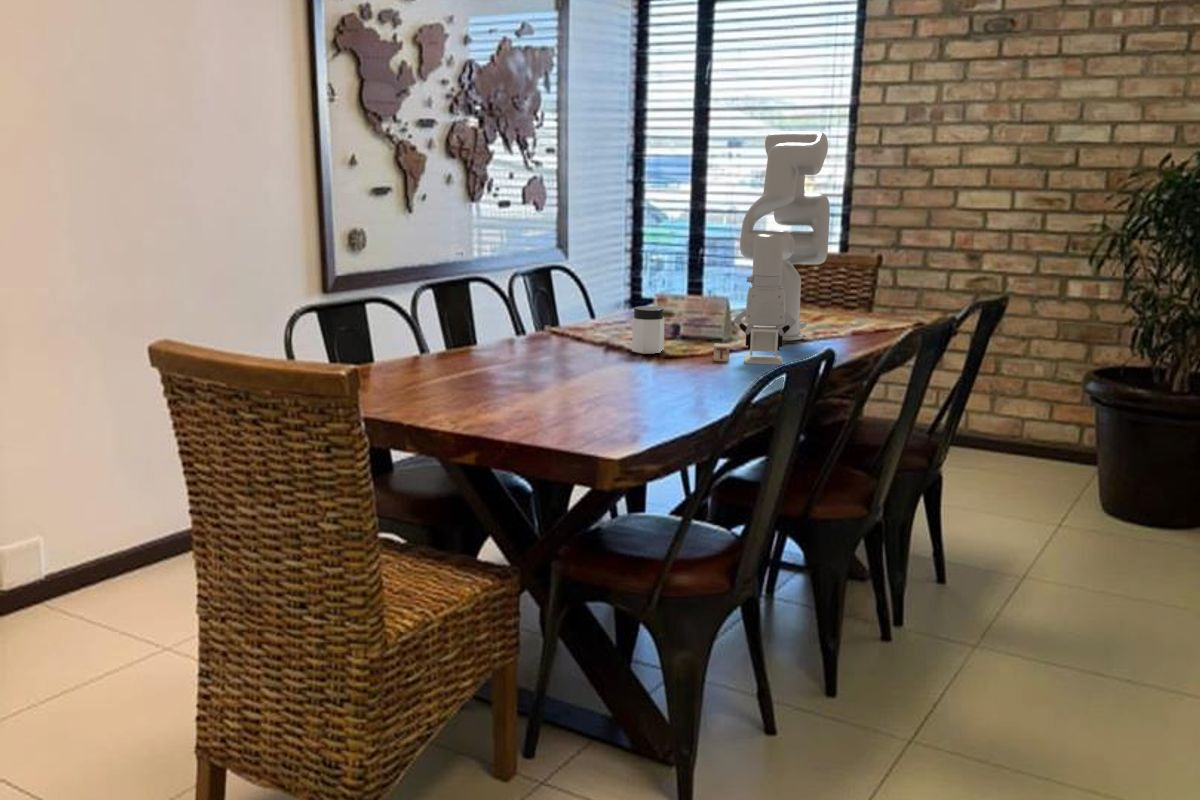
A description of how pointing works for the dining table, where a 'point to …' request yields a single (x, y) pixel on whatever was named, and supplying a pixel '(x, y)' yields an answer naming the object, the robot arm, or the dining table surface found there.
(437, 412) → the dining table surface
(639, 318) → the jar
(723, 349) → the letter cube
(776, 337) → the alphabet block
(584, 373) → the dining table surface
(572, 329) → the dining table surface
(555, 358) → the dining table surface
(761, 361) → the mat
